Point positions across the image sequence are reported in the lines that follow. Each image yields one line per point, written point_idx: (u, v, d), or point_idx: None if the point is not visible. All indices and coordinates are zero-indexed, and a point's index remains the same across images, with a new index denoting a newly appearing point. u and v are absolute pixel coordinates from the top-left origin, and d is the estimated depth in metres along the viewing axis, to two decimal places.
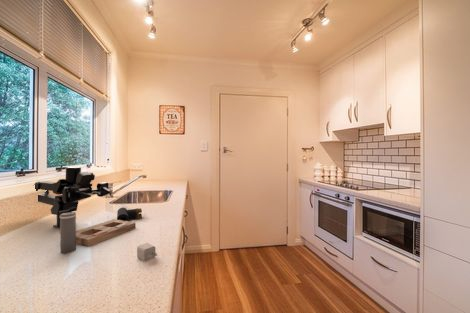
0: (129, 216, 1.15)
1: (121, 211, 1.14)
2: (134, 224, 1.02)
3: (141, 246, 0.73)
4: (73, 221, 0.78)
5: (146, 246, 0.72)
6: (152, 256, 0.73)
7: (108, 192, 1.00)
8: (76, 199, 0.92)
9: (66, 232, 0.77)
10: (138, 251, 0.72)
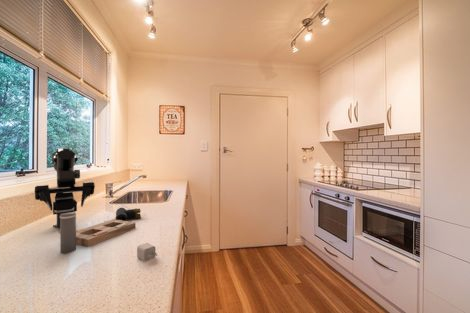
0: (128, 216, 1.15)
1: (120, 211, 1.14)
2: (134, 224, 1.02)
3: (141, 246, 0.73)
4: (73, 221, 0.78)
5: (146, 246, 0.73)
6: (152, 256, 0.73)
7: (81, 205, 0.88)
8: (45, 201, 0.85)
9: (66, 232, 0.77)
10: (138, 251, 0.73)
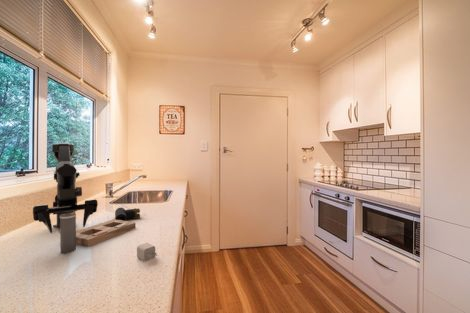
0: (127, 216, 1.15)
1: (119, 211, 1.14)
2: (134, 224, 1.02)
3: (141, 246, 0.73)
4: (73, 221, 0.78)
5: (146, 246, 0.73)
6: (152, 256, 0.73)
7: (83, 225, 0.81)
8: (44, 222, 0.78)
9: (66, 232, 0.77)
10: (138, 251, 0.73)
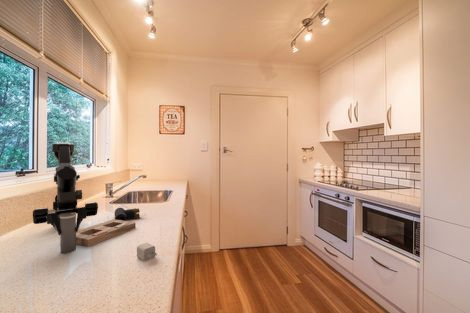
0: (127, 216, 1.15)
1: (119, 211, 1.14)
2: (134, 224, 1.02)
3: (141, 246, 0.73)
4: (73, 221, 0.78)
5: (146, 246, 0.73)
6: (152, 256, 0.73)
7: (76, 230, 0.79)
8: (53, 224, 0.79)
9: (66, 232, 0.77)
10: (138, 251, 0.73)
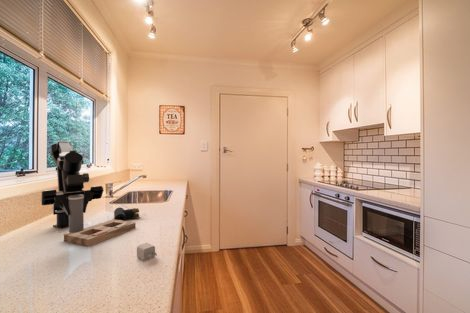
0: (126, 216, 1.15)
1: (118, 211, 1.14)
2: (134, 224, 1.02)
3: (141, 246, 0.73)
4: (81, 202, 0.82)
5: (146, 246, 0.73)
6: (152, 256, 0.73)
7: None
8: (60, 206, 0.82)
9: (74, 213, 0.80)
10: (138, 251, 0.73)
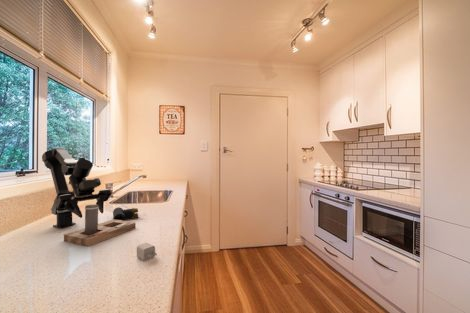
0: (125, 216, 1.15)
1: (117, 211, 1.14)
2: (134, 224, 1.02)
3: (141, 246, 0.73)
4: (97, 212, 0.91)
5: (146, 246, 0.73)
6: (152, 256, 0.73)
7: (101, 211, 0.93)
8: (70, 210, 0.88)
9: (92, 221, 0.89)
10: (138, 251, 0.73)
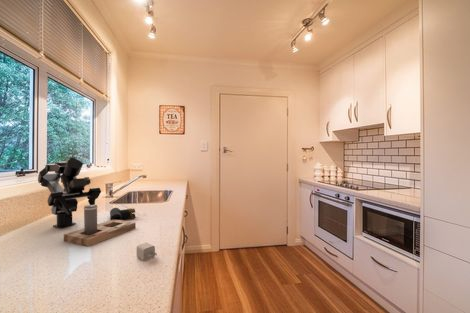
0: (122, 216, 1.15)
1: (114, 211, 1.13)
2: (134, 224, 1.02)
3: (140, 246, 0.73)
4: (96, 212, 0.91)
5: (146, 246, 0.73)
6: (151, 256, 0.73)
7: None
8: (59, 207, 0.92)
9: (91, 222, 0.89)
10: (137, 251, 0.73)
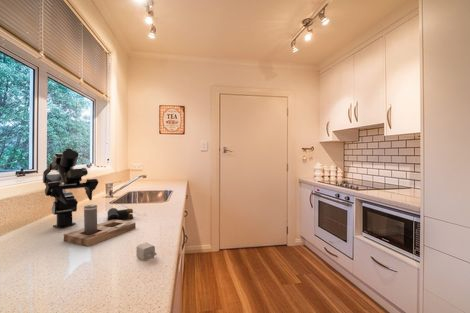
0: (120, 216, 1.14)
1: (112, 212, 1.13)
2: (134, 224, 1.02)
3: (140, 245, 0.73)
4: (96, 212, 0.91)
5: (146, 246, 0.73)
6: (151, 255, 0.73)
7: (90, 198, 0.99)
8: (56, 197, 0.93)
9: (91, 222, 0.89)
10: (137, 250, 0.73)
